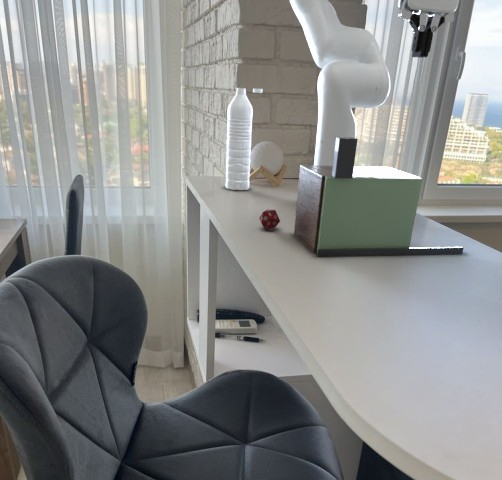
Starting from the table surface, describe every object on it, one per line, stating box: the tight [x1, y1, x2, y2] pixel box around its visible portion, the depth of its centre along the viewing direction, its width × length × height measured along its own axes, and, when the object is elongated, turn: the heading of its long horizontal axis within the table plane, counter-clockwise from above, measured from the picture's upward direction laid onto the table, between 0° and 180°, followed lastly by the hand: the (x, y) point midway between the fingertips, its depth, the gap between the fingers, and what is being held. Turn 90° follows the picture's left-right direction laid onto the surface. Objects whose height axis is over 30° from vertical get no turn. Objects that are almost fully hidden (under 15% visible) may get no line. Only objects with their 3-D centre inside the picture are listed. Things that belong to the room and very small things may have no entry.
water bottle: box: [225, 87, 264, 191], centre depth 134 cm, size 9×6×25 cm
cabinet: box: [293, 164, 465, 257], centre depth 92 cm, size 14×28×13 cm, turn 102°
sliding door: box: [317, 137, 424, 249], centre depth 85 cm, size 2×17×19 cm, turn 102°
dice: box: [259, 209, 281, 230], centre depth 100 cm, size 4×4×4 cm
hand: (419, 56), depth 95 cm, fingers closed
